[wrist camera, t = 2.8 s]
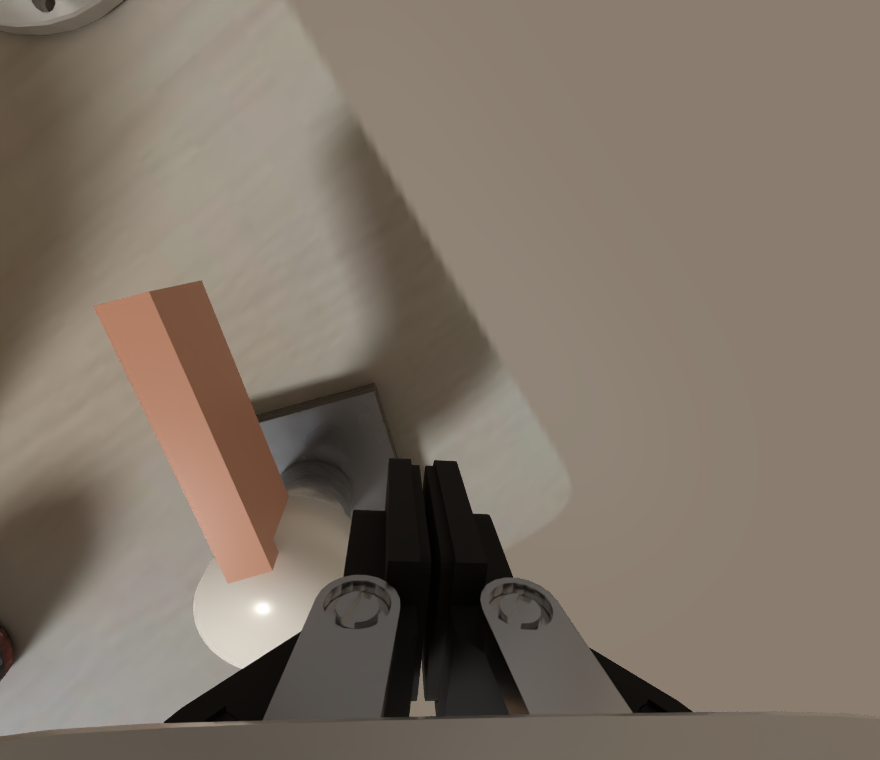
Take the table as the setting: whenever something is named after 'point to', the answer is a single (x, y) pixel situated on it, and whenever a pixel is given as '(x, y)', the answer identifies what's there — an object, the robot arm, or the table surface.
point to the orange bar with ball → (225, 475)
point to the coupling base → (333, 449)
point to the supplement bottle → (5, 653)
